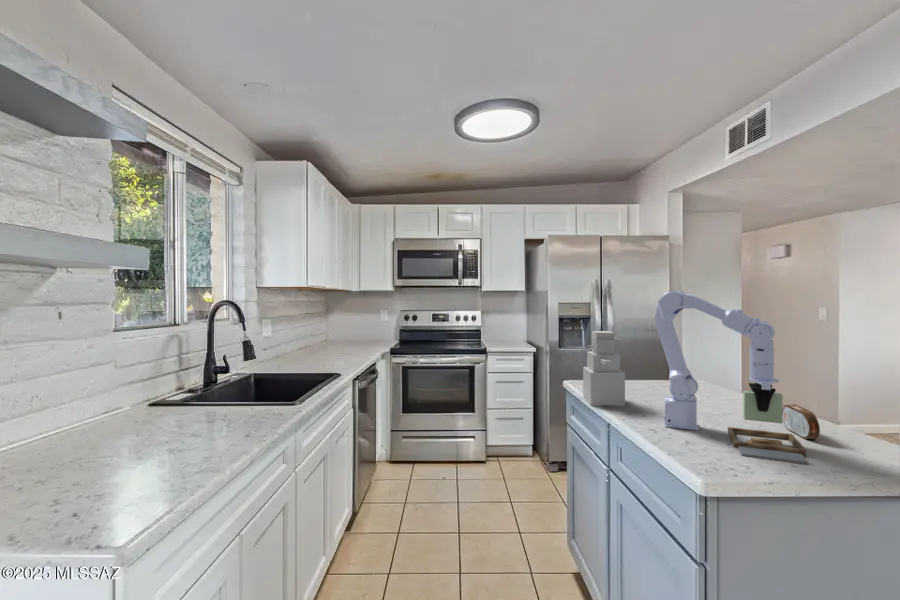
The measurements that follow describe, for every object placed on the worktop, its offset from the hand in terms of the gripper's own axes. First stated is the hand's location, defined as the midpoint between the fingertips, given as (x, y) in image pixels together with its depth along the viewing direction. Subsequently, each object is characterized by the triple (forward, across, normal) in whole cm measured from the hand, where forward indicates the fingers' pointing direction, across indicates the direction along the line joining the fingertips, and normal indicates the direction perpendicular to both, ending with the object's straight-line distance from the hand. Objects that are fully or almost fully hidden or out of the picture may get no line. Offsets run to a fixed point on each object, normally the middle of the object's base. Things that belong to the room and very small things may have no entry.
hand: (761, 409), depth 128 cm
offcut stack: (+9, -5, 0) cm, 11 cm away
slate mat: (+9, -14, 0) cm, 17 cm away
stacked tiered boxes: (+9, +28, +48) cm, 56 cm away
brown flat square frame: (+9, -3, 0) cm, 9 cm away
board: (+3, 0, 0) cm, 3 cm away
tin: (+9, +10, -11) cm, 18 cm away
